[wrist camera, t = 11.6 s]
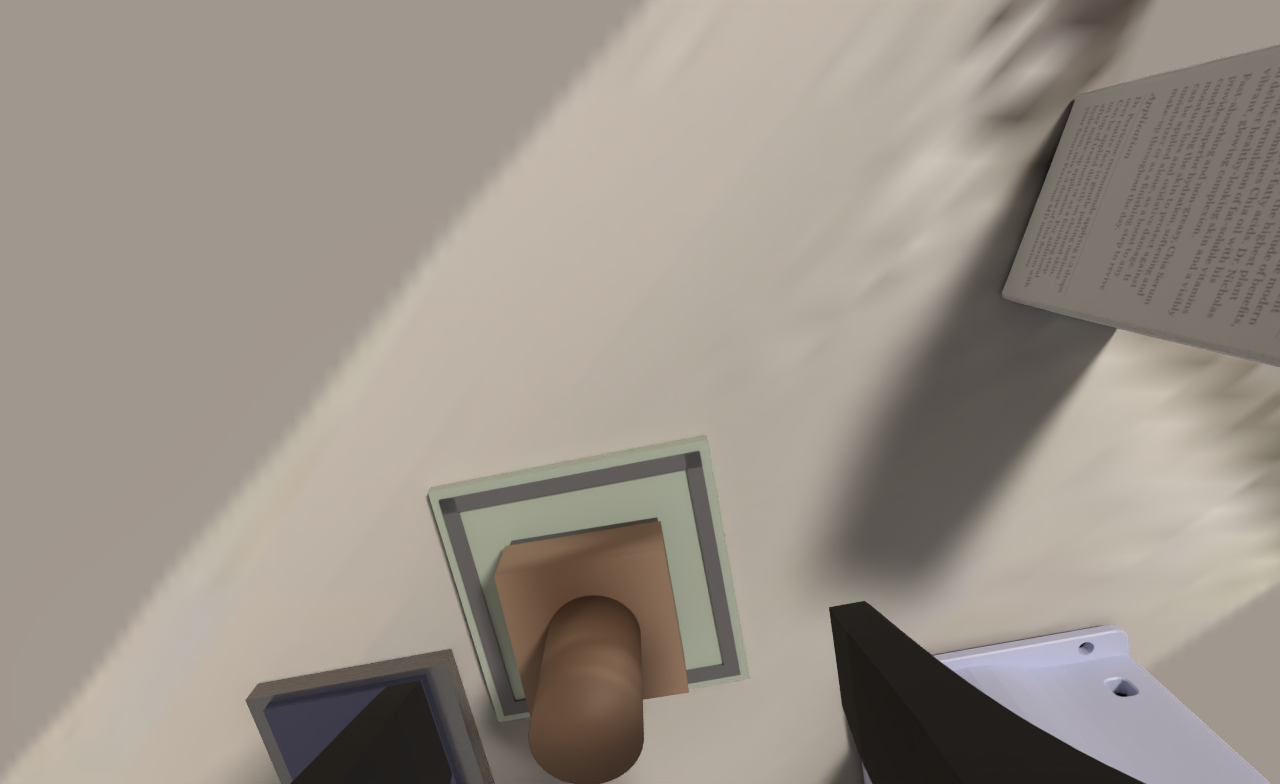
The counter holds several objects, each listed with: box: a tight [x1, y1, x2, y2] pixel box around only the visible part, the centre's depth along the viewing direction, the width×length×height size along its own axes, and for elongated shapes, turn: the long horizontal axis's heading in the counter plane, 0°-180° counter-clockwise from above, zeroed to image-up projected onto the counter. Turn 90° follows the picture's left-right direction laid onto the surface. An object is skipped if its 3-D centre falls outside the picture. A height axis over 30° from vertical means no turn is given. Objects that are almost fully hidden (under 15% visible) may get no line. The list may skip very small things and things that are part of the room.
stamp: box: [494, 517, 689, 784], centre depth 19 cm, size 5×5×6 cm
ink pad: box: [246, 649, 494, 784], centre depth 24 cm, size 7×7×1 cm
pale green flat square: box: [428, 436, 750, 722], centre depth 22 cm, size 9×9×1 cm
